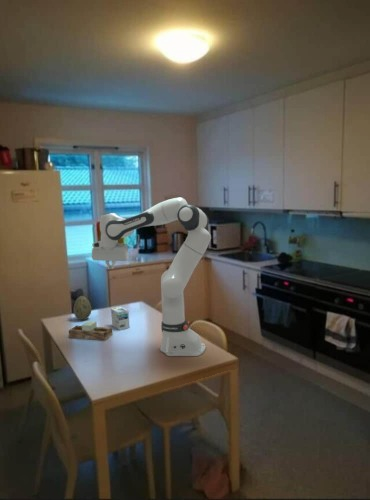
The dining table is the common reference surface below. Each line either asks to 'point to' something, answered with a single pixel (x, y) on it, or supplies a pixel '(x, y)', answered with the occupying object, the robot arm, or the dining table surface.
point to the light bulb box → (120, 318)
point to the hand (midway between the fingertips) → (110, 268)
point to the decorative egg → (82, 308)
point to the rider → (89, 326)
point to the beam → (91, 333)
